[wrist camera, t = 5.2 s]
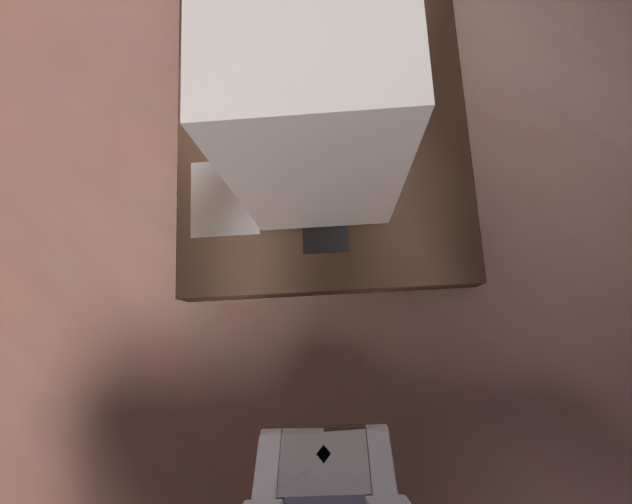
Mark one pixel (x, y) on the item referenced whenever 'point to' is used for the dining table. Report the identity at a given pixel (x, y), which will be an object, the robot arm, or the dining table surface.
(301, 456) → the robot arm
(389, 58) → the switch tab
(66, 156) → the dining table surface
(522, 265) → the dining table surface
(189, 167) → the switch board
